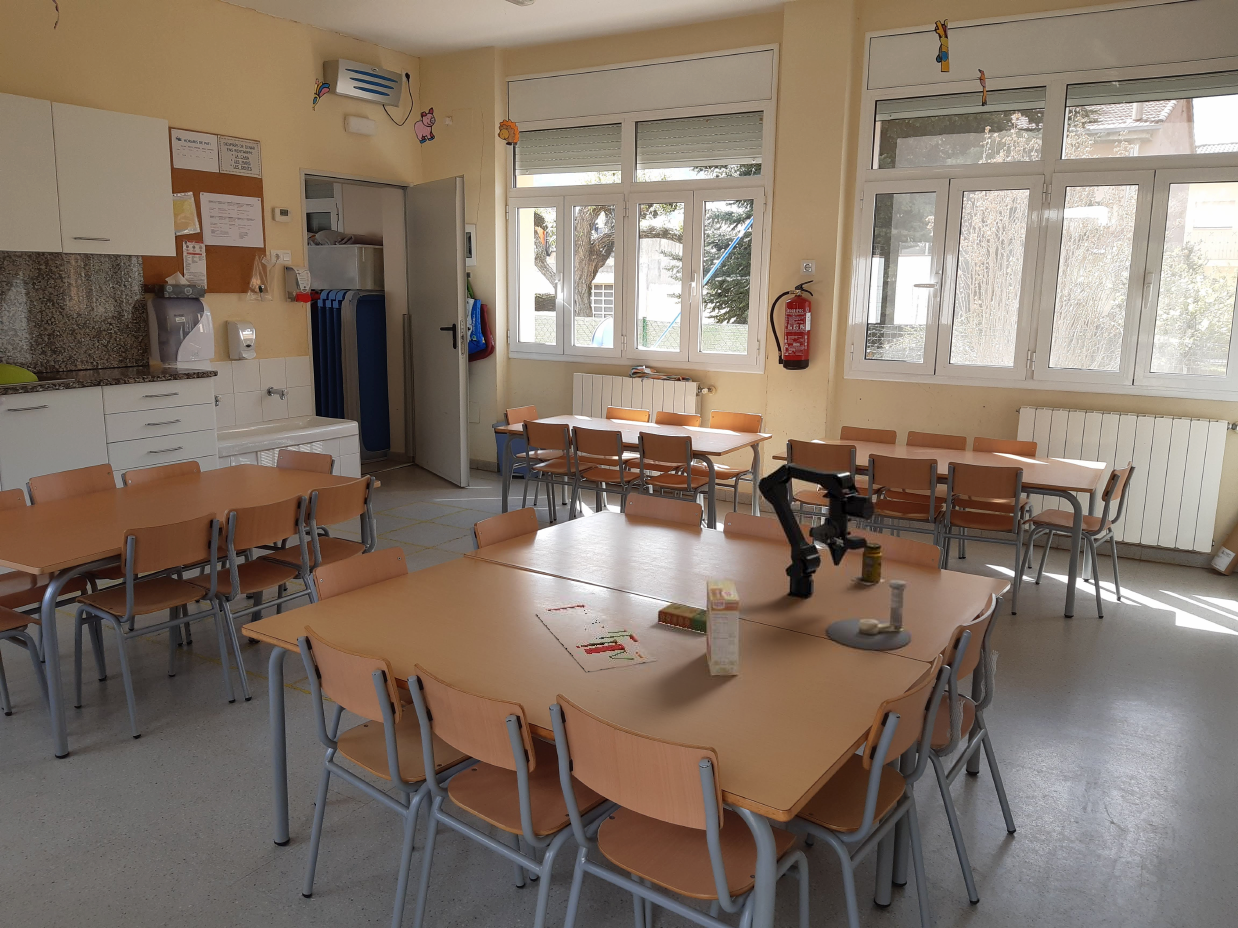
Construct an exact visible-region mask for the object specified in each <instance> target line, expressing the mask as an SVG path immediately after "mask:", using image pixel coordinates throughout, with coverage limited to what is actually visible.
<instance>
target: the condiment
mask: <svg viewBox="0 0 1238 928" xmlns="http://www.w3.org/2000/svg"><path fill="white" fill-rule="evenodd" d="M882 557H883V555H882V545H881V544H880V543H875V542H867V548H863V552H862V558H861V559H862V561H861V562H862V563H861V576H858V577H854V578H852V580H853V581H855V582H857V583H860V584H864V585H868V586H871V585H875V584H878V583H883V582H887V580H886V579H883V578H882V576H881V575H882V560H883V558H882ZM877 582H878V583H877Z"/></svg>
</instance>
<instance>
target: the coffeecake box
mask: <svg viewBox="0 0 1238 928" xmlns="http://www.w3.org/2000/svg"><path fill="white" fill-rule="evenodd" d="M739 604H740V599H739V595H738V592H737V589H736V586H735V583H734V580H717V579H716V580H715V579H714V580H712V579H711V580H707V581H706V610H707V634H706V648H705V649H706V651H705V653H706V654H705V655H706V660H707V665H709V666H708V670H710V671H709V675H710V674H720V676H731V675H737V676H738V675H739V623H740V622H739V621H740V619H739V618H740V617H739V616H740V610H739V608H740V606H739Z"/></svg>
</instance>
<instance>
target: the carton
mask: <svg viewBox="0 0 1238 928" xmlns="http://www.w3.org/2000/svg"><path fill="white" fill-rule="evenodd" d="M658 622H662V623H665V624H670V625H674V626H679V627H682V628H687V629H691V630H695V631H700V632H704V633H707V609H706V610H705V609H701V608H696V607H692V606H687V605H682V604H677V603H670V604H668V605H666V606H664V607H663V608H661V609H659V610H658V612H657V623H658ZM695 631H694V632H695Z"/></svg>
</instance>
